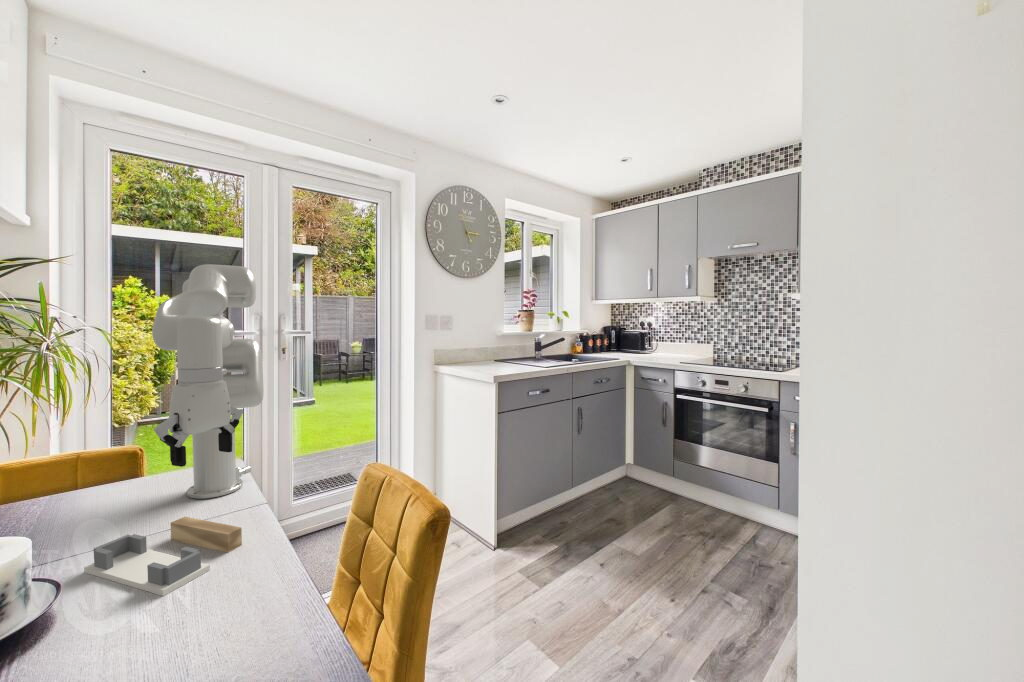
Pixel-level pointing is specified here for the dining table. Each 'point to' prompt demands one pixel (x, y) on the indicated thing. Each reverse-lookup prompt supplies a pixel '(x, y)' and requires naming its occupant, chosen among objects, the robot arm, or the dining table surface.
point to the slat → (206, 534)
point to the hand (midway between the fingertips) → (203, 458)
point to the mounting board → (145, 565)
